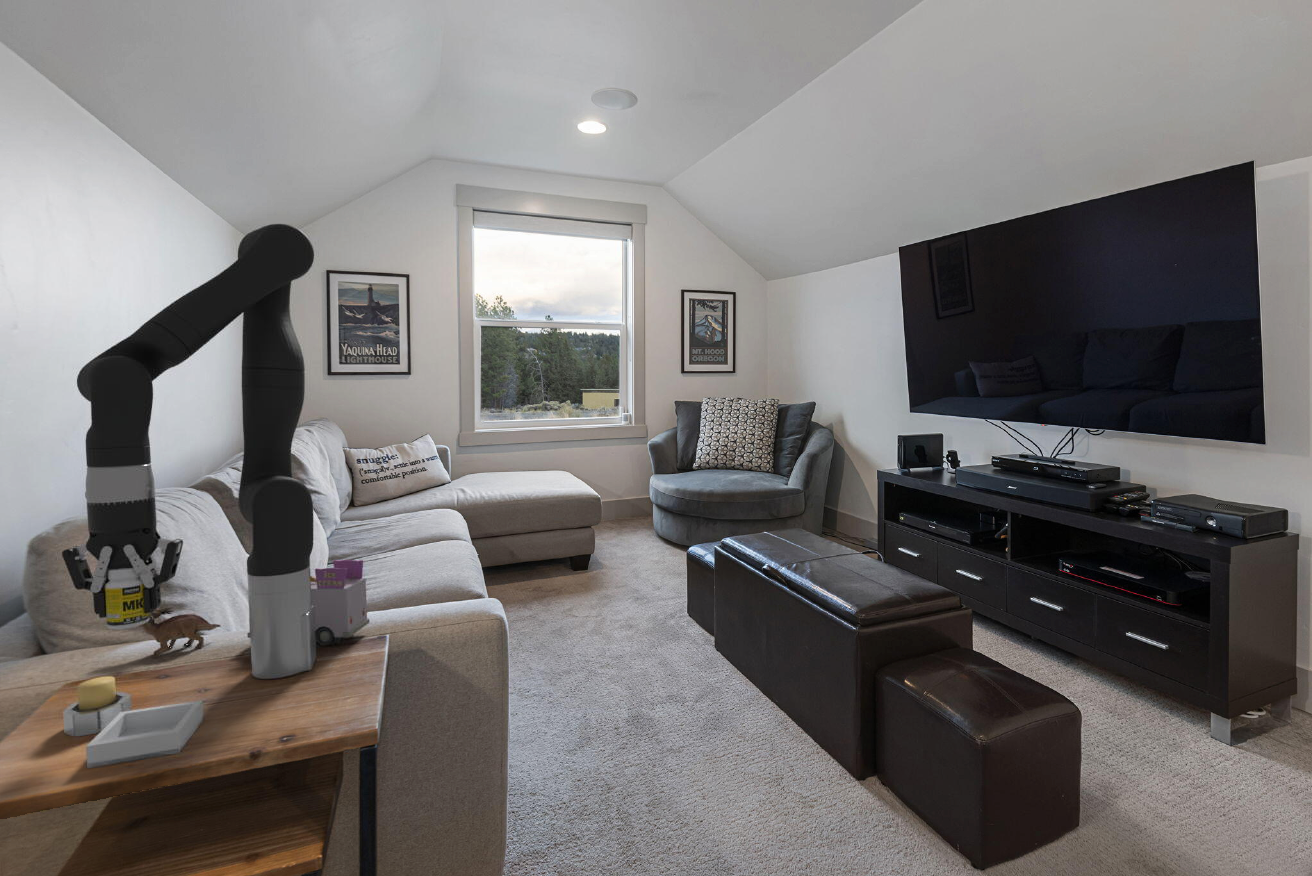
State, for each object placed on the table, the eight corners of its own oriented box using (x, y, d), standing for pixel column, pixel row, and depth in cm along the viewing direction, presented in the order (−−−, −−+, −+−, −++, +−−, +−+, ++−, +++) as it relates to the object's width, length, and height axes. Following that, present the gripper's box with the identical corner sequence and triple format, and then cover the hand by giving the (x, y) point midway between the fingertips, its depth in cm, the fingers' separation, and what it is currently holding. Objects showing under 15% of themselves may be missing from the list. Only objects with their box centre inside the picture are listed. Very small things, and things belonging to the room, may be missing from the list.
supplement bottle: (124, 631, 89) (120, 571, 88) (98, 629, 90) (94, 570, 89) (158, 620, 93) (155, 563, 93) (133, 618, 95) (130, 562, 94)
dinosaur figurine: (129, 664, 112) (126, 612, 112) (131, 654, 117) (128, 604, 117) (222, 645, 121) (220, 597, 120) (221, 637, 125) (218, 590, 125)
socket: (138, 708, 95) (136, 689, 95) (117, 730, 89) (116, 709, 88) (81, 717, 93) (80, 697, 92) (55, 739, 86) (54, 718, 86)
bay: (203, 719, 91) (202, 700, 91) (179, 752, 82) (178, 731, 82) (121, 731, 88) (120, 712, 88) (87, 768, 79) (86, 746, 79)
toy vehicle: (276, 631, 128) (273, 558, 127) (371, 631, 127) (368, 557, 126) (245, 649, 119) (241, 569, 118) (347, 648, 118) (344, 568, 117)
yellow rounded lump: (121, 694, 93) (120, 674, 93) (108, 706, 89) (107, 685, 89) (87, 699, 92) (86, 679, 91) (72, 711, 88) (71, 690, 88)
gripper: (190, 490, 97) (196, 601, 97) (74, 496, 92) (81, 612, 93) (170, 497, 89) (176, 616, 90) (43, 503, 85) (51, 628, 86)
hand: (128, 613), depth 92 cm, fingers closed on supplement bottle, 4 cm apart
